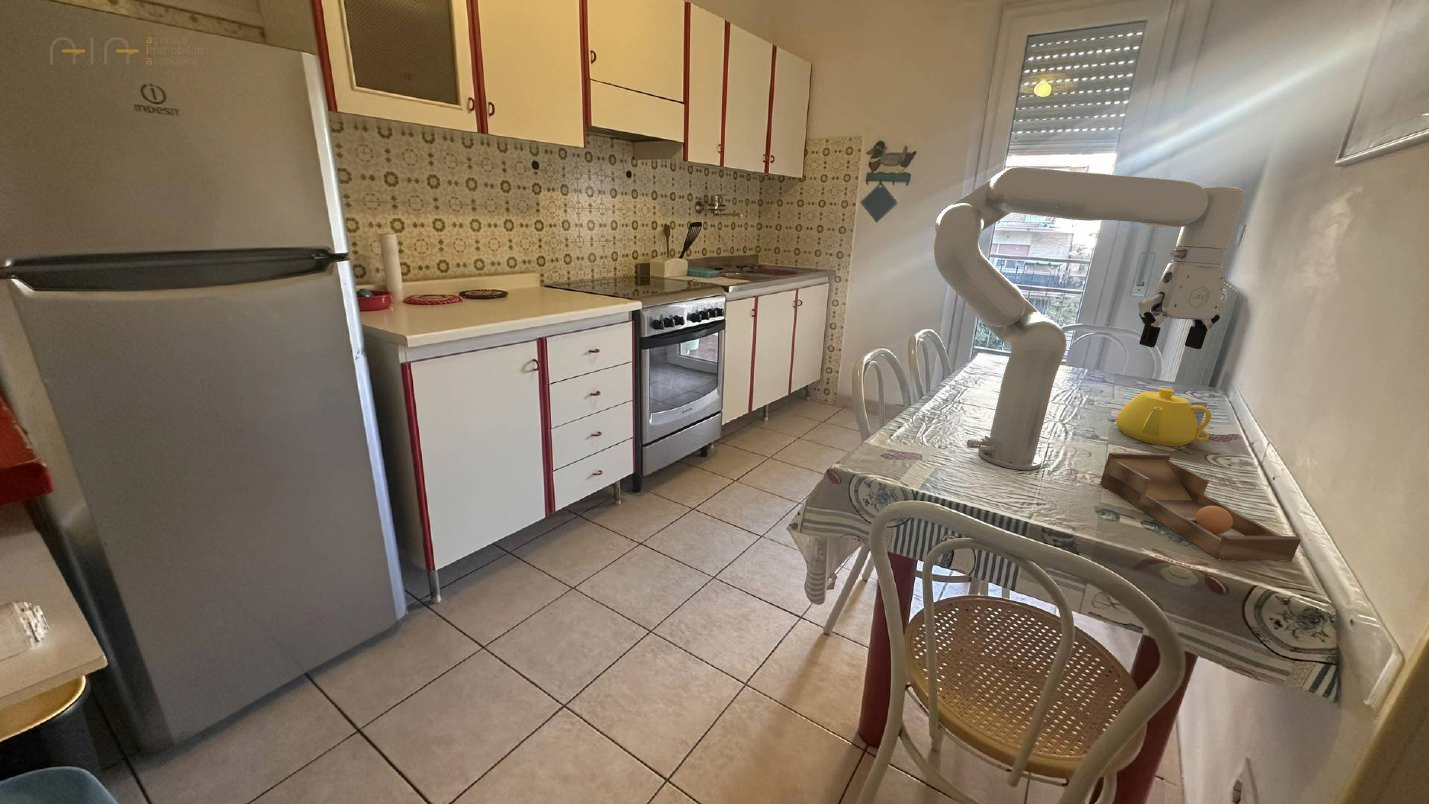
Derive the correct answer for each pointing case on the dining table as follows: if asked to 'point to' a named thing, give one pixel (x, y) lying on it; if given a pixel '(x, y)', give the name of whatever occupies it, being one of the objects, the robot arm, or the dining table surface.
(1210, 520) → the ball
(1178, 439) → the teapot
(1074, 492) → the dining table surface
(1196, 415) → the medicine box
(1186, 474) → the lane
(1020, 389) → the robot arm
